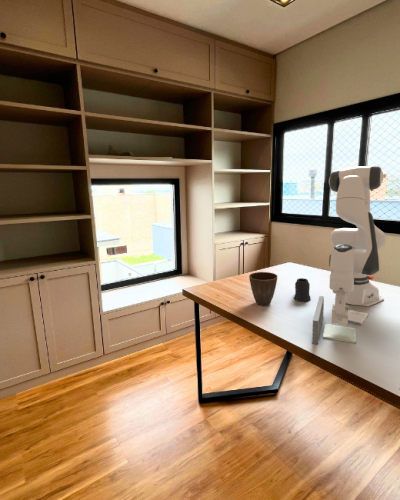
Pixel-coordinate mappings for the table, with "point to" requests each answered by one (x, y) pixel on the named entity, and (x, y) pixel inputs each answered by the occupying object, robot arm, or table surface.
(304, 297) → the mug
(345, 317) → the letter cube
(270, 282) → the plant pot
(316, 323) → the screen
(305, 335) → the table surface
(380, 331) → the table surface
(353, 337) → the pad
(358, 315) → the external hard drive
